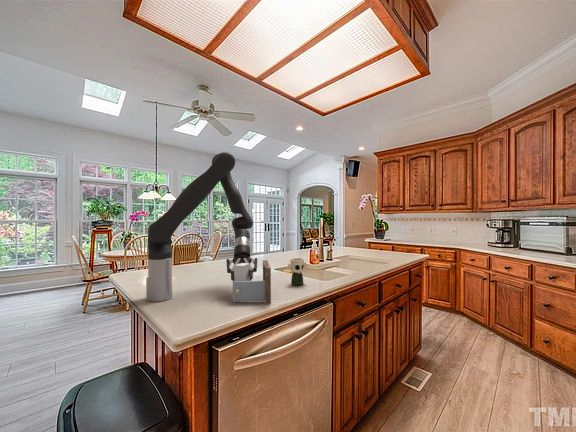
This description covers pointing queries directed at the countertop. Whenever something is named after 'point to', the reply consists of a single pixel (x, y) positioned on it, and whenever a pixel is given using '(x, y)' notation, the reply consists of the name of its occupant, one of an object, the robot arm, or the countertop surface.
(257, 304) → the countertop surface
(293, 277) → the character mug
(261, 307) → the countertop surface
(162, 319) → the countertop surface
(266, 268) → the door frame
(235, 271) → the skincare box
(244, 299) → the door leaf
